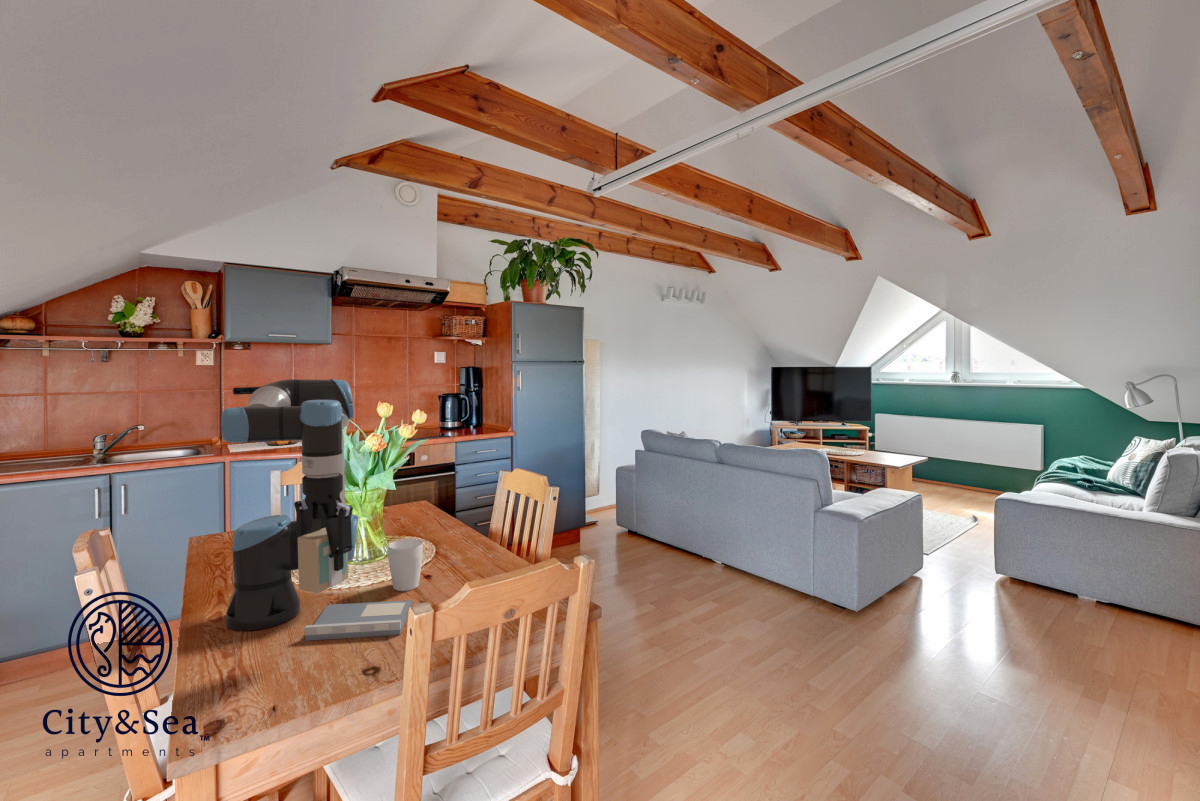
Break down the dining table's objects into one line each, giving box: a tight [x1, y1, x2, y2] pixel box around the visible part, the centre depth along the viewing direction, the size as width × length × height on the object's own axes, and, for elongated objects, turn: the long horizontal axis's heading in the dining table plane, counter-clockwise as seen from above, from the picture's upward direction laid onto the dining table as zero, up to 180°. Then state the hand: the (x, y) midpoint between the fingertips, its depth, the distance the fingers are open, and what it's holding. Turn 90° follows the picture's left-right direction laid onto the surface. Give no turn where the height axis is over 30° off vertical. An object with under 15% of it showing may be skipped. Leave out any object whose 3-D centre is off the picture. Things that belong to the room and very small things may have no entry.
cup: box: [387, 538, 424, 592], centre depth 145 cm, size 9×9×12 cm
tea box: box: [297, 527, 349, 594], centre depth 111 cm, size 8×5×11 cm, turn 161°
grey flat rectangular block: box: [304, 599, 414, 642], centre depth 125 cm, size 20×15×3 cm
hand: (324, 582), depth 111 cm, fingers closed on tea box, 5 cm apart
